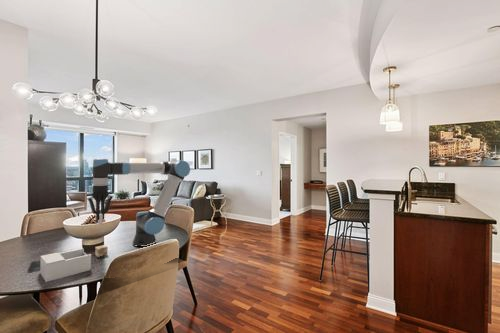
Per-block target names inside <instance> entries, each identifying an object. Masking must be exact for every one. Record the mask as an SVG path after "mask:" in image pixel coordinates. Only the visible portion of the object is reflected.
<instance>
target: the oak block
mask: <svg viewBox="0 0 500 333" xmlns="http://www.w3.org/2000/svg"><path fill="white" fill-rule="evenodd" d="M94 248H95V251H94V253H95V254H94V255H95V256H96V257H97V258H100V256H101V257H104V256H103V255H105V256H107V255H108V246H107V245H106V244H103V245H98V246H95V247H94ZM106 254H107V255H106Z"/></svg>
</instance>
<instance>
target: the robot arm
mask: <svg viewBox="0 0 500 333" xmlns="http://www.w3.org/2000/svg"><path fill="white" fill-rule="evenodd" d="M190 166H191V165H190V164H189V163H188V162H187V161H186V160H183V159H180V160H169V161H160V162H115V161H114V162H111V161H110V162H109V158H108V159H107V158H94V159H93V161H92V185H93V186H92V193H91V195H90V196H89V197H87V198H86V200H87V201H88V203H89V206H90V210H91V213H92V214H93V215H95V219H96V220H97V225H98V226H99V227H100V226H103V225H104V224H103V220H104V219H105V214H106V213H109V210H110V209H109V208H110V205H111V201H112V199H113V198H114V196H112V195H110V194H109V185H108V184H109V176H111V175H113V176H117V175H118V176H120V175H121V176H122V175H123V176H124V175H129V174H130V175H132V174H133V175H134V174H135V175H136V174H138V175H139V174H160V175H165V176H166V175H167V177H168V178H167V179H166V181H165V184H164V186H163V188H162V190H161V191H160V194H159V195H158V197H157V199H156V201H155V204H154V205H153V208H151V209H150V210H148V211H146V210H145V211H138V212H137V213H136V217H135V235H134V237H133V241H132V246H133V245H137V246H141V245H147V244H150V243H153V242H155V241H156V242H157V239H156V235H157V234H159V233H161V232H162V231H163V229H164V227H165V219H166V214H165V213H166V211H167V210H168V207H169V205H170V203H171V201H172V199H173V198H174V195H175V193H176V191H177V189H178V187H179V185H180V183H181V182H184V180H185V177H188V175H190V173H191V167H190ZM93 200H94V201H95V203H94V201H93ZM105 202H106V203H105ZM143 248H145V246H144V247H143Z"/></svg>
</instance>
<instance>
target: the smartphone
mask: <svg viewBox="0 0 500 333" xmlns="http://www.w3.org/2000/svg"><path fill="white" fill-rule="evenodd" d="M40 262H41V260H36V261H31V262H30V264H29V267H28V269H27V272H28V273H27V274H30V273H35V272H40Z"/></svg>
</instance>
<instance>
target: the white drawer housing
mask: <svg viewBox="0 0 500 333" xmlns="http://www.w3.org/2000/svg"><path fill="white" fill-rule="evenodd" d="M84 250H85V249H84V248H79V249H78V248H77V249H73V250H68V251H63V252H55V253H49V254H43V255H40V261H41V262H40V271H39V274H40V275H41V276H42V278H43V280H44V281H45V282H46V283H47V282H51V281H56V280H58V279H63V278H66V277H69V276H73V275H76V274H81V273H83V272H88V271H91V270H92V254H91V253H89V254H87V255H85V256H82V253H84Z"/></svg>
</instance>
